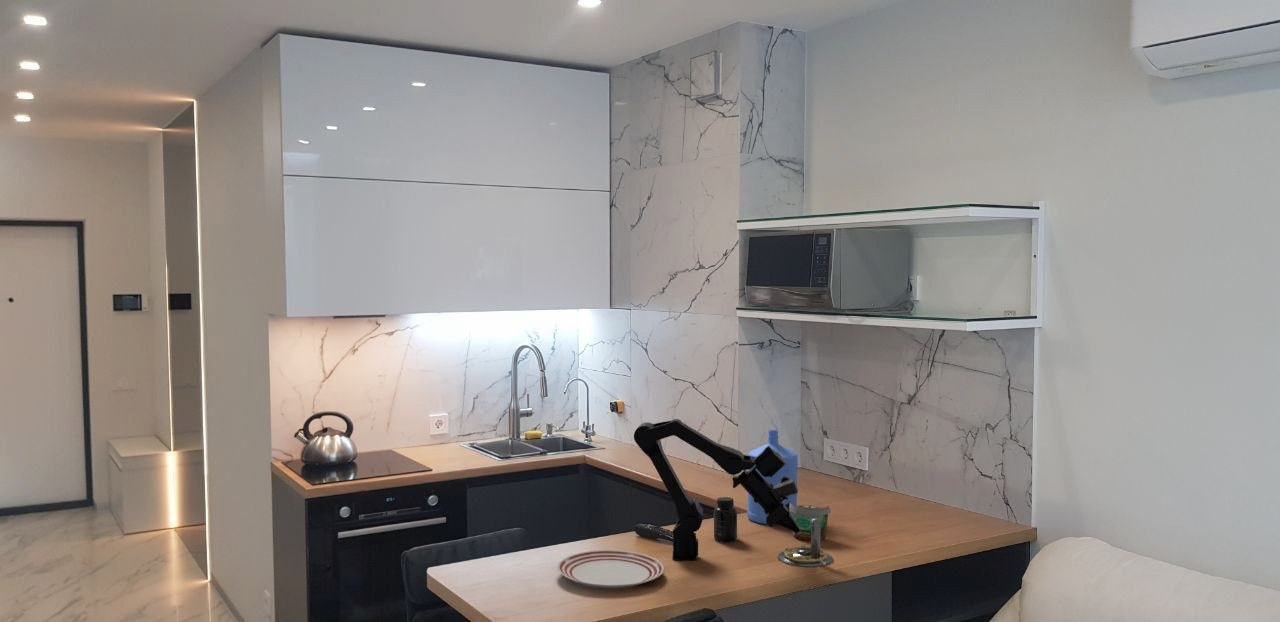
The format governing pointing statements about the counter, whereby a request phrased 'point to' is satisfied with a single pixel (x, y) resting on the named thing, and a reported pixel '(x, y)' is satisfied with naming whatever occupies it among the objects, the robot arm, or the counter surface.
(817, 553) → the rod on round base
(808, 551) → the flange
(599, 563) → the dinner plate
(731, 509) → the supplement bottle
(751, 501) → the water jug
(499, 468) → the counter surface
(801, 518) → the food container
